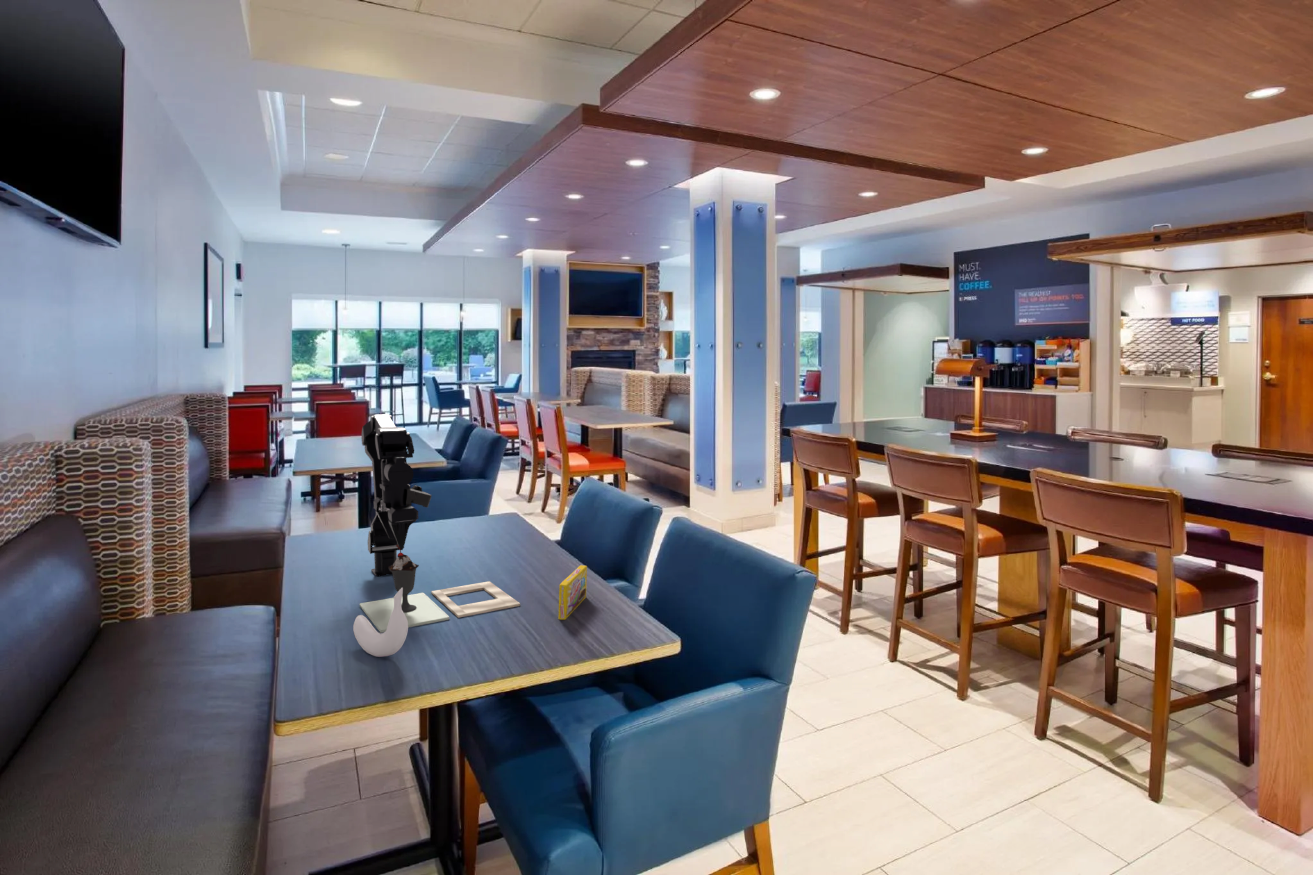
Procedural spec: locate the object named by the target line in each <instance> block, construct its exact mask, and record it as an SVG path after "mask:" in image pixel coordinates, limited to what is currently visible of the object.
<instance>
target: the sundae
mask: <svg viewBox="0 0 1313 875" xmlns="http://www.w3.org/2000/svg"><path fill="white" fill-rule="evenodd" d="M396 546H397V547H398V545H396ZM398 548H399V547H398ZM399 549H400V548H399ZM419 566H420V565H419V564H416V563H415V562H413V561H412V560H411V557H410V556H409V555H407V554H404V553H403V552H402V550H399V553H397V559H396V560H395V561H394V564H393V565H391V566H389V567H388V568H389V570H390V571H391V572H392V574H391V575H392V579H393V583H394V587H395V588H394V589H395V590H396V591H395V592H396V593H398V591H399V590H400V589H401V588H403V594H402V599H403V600H402V604H401V608H402V611H403V613H405V612H411V611H414V610H415V609H416V608H417V607H416V606H415V605H410V604H409V603H408V595H410V593H411V592H412V591H413V589H414V587H415V584H416V583H415V582H416V574H417V573H416V572H417V568H419Z"/></svg>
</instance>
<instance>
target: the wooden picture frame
mask: <svg viewBox="0 0 1313 875" xmlns="http://www.w3.org/2000/svg"><path fill="white" fill-rule="evenodd" d="M477 591H485V592H486V593H488V595H490V596H491V597H493V598H494V599H488V600H482V601H478V602H472V603H467V604H461V605H458V604H456V603H455V602H454V601H453V600H452V599H450V597H449V596H455V595H461V594H467V593H472V592H477ZM430 593H431V595H433V597H434V598H436V600H438V601H439V602H441V604H443V605H444V606H445V608H447V609H448V610H449V611H450V612H451V613H452V614H454V615H455V617H457V618H458V619H459V618H463V617H469V616H474V615H479V614H485V613H490V612H494V611H500V610H506V609H509V608H510V609H511V608H514V607H520V606H521V603H520V602H519V601H517V600H516V599H515V598H513V597H512V596H510V595H509V594H508V593H506V592H505V591H503V590H502V589H501V588H499V587H498V586H497V585H495V584H494V583H492V582H491V581H490V580H489V581H485V582H484V581H483V582H477V583H472V584H465V585H461V586H454V587H448V588H442V589H436V590H431V592H430Z"/></svg>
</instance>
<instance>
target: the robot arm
mask: <svg viewBox="0 0 1313 875" xmlns="http://www.w3.org/2000/svg"><path fill="white" fill-rule="evenodd" d="M392 417H393V416H392V415H391V414H373V415H370V420H369V421H368V422H366V423H365V424H364V425H362V428H361V445H362V446H363V447H364V453H365V454H366V455H367V457H368V458H369V459H370V461H371V465H372V466H371V468H372V482H373V493H374V494H373V496H374V500H373V509H374V510H375V516H374V518H373V519H372V522H371V523H370V530H368V536H367V551H368V552H369V554H370V555H371V554H374V568H372V569H371V568H370V569H371V573H373V575H375V577H384V576H390V575H393V574H392V572H391V571H390V570H389V568H388V567H389V566H391V565H393V564H394V561H395V560H396V559H397V557H398V556H397V555H398V552H397V551H400V550H401V551H403V550H404V549H405V545H406V542H407V541H406V540H407V536H408V532H409V528H410V526H411V525H412V524H413V523H416V521H417V520H419V511H418V510H417V509H416V508H415V507H414V506H412V504H414V505H418V506H422V507H424V508H429V505H430V502H431V499H432V494H430V493H428V492H426V491H423V488H422V486H419V485H415V484H414V485H412V487H411V485H410V483H411V482H412V480H413V478H414V470H413V468H412V466H411V465H410V464H409V463H407V459H408V458H410V459H411V458H412V459H413V458H414V453H415V448H414V447H415V446H414V442H413V438H412V436H411V435H410V432H408V431H407V429H406V428H405V427H401V426H400V427H399V426H397V425H396V424H395V423H394V422H393V418H392ZM396 545H398V547H399V548H400V549H399V548H398V547H397V546H396Z"/></svg>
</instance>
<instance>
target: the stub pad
mask: <svg viewBox="0 0 1313 875" xmlns="http://www.w3.org/2000/svg"><path fill="white" fill-rule="evenodd" d="M402 600H403V599H402ZM402 600H401V604H402ZM408 603H409V604H410V605H415V606H416V607H417V608H416V609H415V610H414V611H411V612H405V613H404V614H405V616H406V618H407V621H408V628H412V627H418V626H423V625H428V624H433V623H437V622H444V621H448V620H449V621H450V616H449V615H448V614H447V613H446V612H445V610H443V609H441V608H440V606H438V605H437V604H436V603H435V602H434V601H433V600H432V599H431V598H430V597H429V596H428V595H427V594H425V593H424V592H419V593H414V594H413V593H412V594H408ZM359 608H360V609H362V611H363V612H364V613H365V615H366V617H368V620H370V622H371V624H373V625H374V627H375V629H377V630H378V632H379V633H380V634H382V633H384V632H385V631H386V630H387V626H388V623H389V619H390V616H391V614H392V611H393V609H394V597H389V598H385V599H378V600H372V601H367V602H361V603H359Z"/></svg>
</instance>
